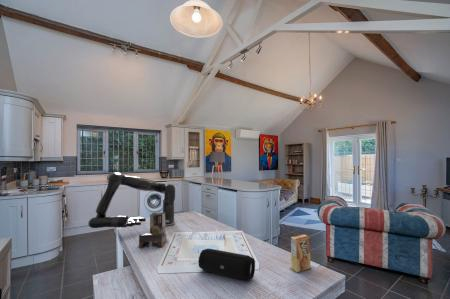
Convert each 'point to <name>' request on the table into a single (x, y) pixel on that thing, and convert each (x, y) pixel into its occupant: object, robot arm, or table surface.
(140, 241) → the bench
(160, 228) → the coffee box
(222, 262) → the portable speaker
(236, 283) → the table surface
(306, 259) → the candy box
